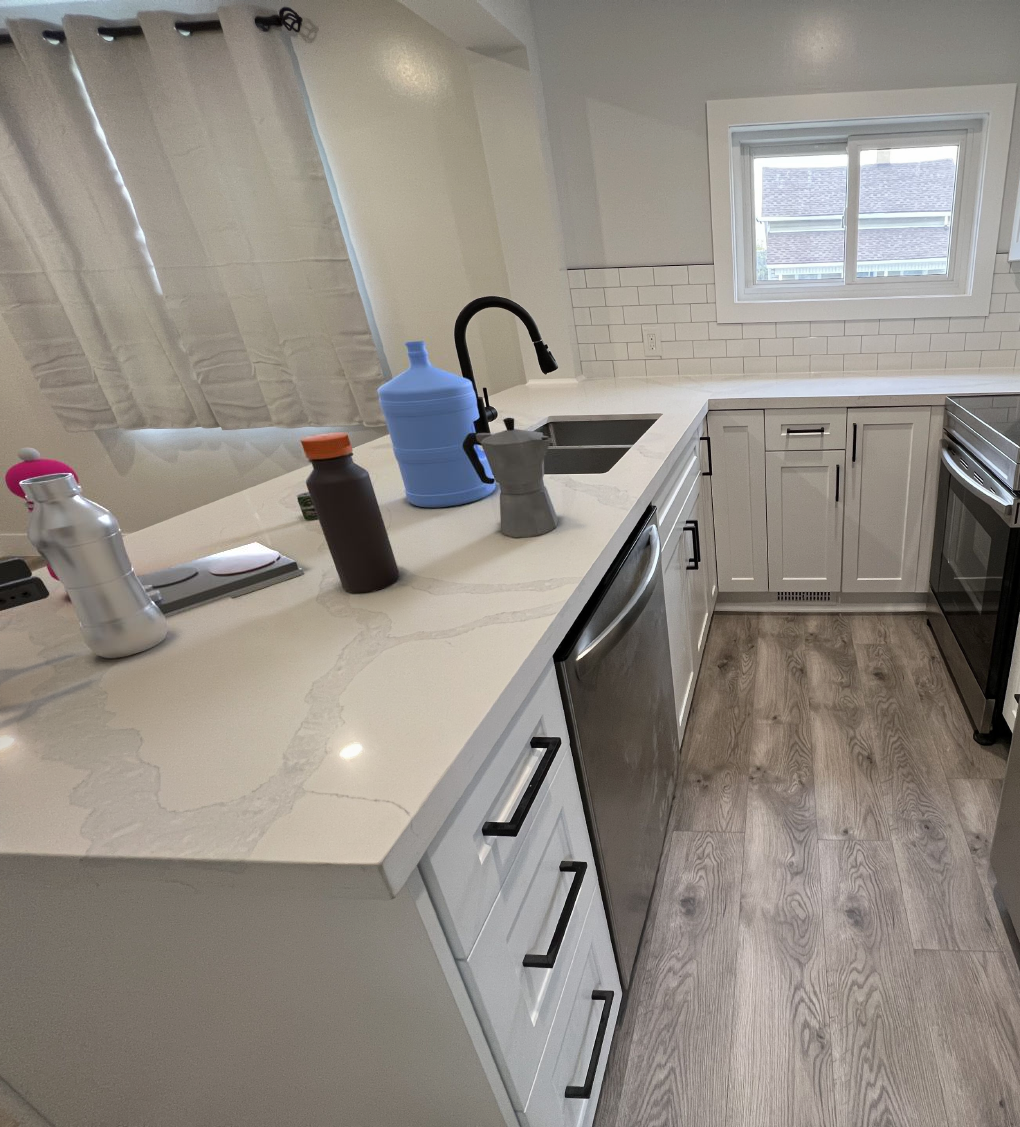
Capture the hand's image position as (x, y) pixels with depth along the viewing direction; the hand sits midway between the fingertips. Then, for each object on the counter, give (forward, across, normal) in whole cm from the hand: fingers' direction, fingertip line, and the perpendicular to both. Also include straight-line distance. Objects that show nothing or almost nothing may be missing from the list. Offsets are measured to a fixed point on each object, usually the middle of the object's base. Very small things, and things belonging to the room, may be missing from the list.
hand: (36, 575), depth 61 cm
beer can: (+35, +31, +11) cm, 48 cm away
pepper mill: (+6, +24, +11) cm, 27 cm away
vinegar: (+27, -6, +11) cm, 30 cm away
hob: (+15, +13, +11) cm, 23 cm away
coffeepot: (+51, -7, +11) cm, 53 cm away
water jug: (+55, +20, +11) cm, 60 cm away
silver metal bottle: (+4, 0, +11) cm, 12 cm away
